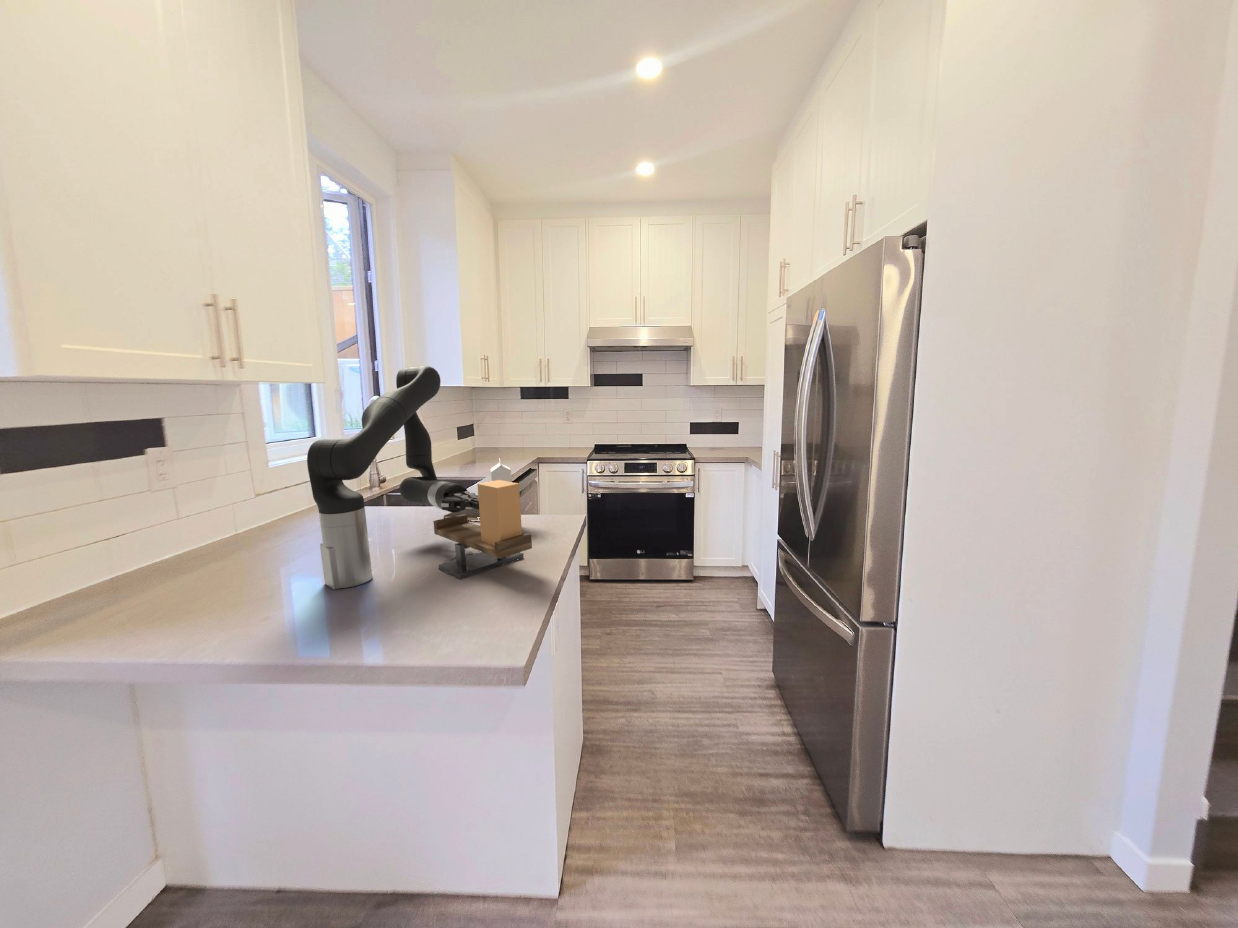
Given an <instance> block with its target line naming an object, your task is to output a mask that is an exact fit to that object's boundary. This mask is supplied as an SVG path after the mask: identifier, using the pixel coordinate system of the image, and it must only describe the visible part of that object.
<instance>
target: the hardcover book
mask: <svg viewBox="0 0 1238 928" xmlns="http://www.w3.org/2000/svg"><path fill="white" fill-rule="evenodd" d="M462 514H466V515H467V518H468V520H478V518H477V517H480V513H479V510H477V509H474V508H473V509H465V510H461V511H459V512H455V513H453V512H449V513H446V514H444V515H443V519H444V518H449V517H453V516H457V515H462ZM479 520H480V518H479Z"/></svg>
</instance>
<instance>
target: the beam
mask: <svg viewBox="0 0 1238 928" xmlns="http://www.w3.org/2000/svg"><path fill="white" fill-rule="evenodd" d="M432 522H433V531H434V533H433V534H434V535H437V536H440V537H442V538H444V539H447V540H450V541H452V542H455V543H456V544H457V543H461V544H464V545H465V550H466V549H469V548H471V549H473V550H476V551H479V552H484V553H486V554H489V555H491V556H494V557H497V558H499V559H500V558H503V557H506V556H509V555H512V554H516V553H519V552H520V553H522V552H524V551H528V550H531V549H532V548H533V543H532V533H529V532H526V533H522V534H521V535H518V536H515V537H511V538H508V539H504V540H501V541H497V542H495V546H494V545H491V544H488V543H485V542H482V541H481V527H480V525H479V524H476V523H472V522H471V521H468V518H467V515H466V514H462V515H457V516H453V517H449V518H444V517H443V518H440V519H436V520H433V521H432Z"/></svg>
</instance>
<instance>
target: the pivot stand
mask: <svg viewBox="0 0 1238 928" xmlns="http://www.w3.org/2000/svg"><path fill="white" fill-rule="evenodd" d="M454 549H455V551H454V553H455V559H453V560H450V561H447V562H444V563H443V562H442V563H440V564H438V570H439V571H442V572H444V573H446V574H448V575H450V576H452V577H455V578H457V579H459V580H461V579H465V578H467V577H471V576H473V575H476V574H480V573H482V572H483V573H484V572H485V571H489V570H492V569H496V568H498V567H501V566H504V565H508V564H510V563H512V561H513V562H516V561H518V560H517V559H519V560H522V559H524V553H522V552H519V553H516V554H512V555H509V556H506V557H503V558H500V559H499V558H497V557H494V556H491V555H489V554H486V553H484V552H481V551H479V552H477V553H473V554H470V555H467V556H466V549H465V545H464V544H461V543H457V542H456V543H454ZM503 564H504V565H503Z"/></svg>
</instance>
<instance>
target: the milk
mask: <svg viewBox="0 0 1238 928" xmlns="http://www.w3.org/2000/svg"><path fill="white" fill-rule="evenodd" d="M498 460H499V461H498V463H497V464H495V465H494V466H492V467H491V468H490V470H489V472H490V481H496V480H503V481H508V482H513V481H512V479H513V478H512V469H511V468H510V467H509V466H507V465H506V464H503V463H502V462H501V459H500V457H499V458H498Z"/></svg>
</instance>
